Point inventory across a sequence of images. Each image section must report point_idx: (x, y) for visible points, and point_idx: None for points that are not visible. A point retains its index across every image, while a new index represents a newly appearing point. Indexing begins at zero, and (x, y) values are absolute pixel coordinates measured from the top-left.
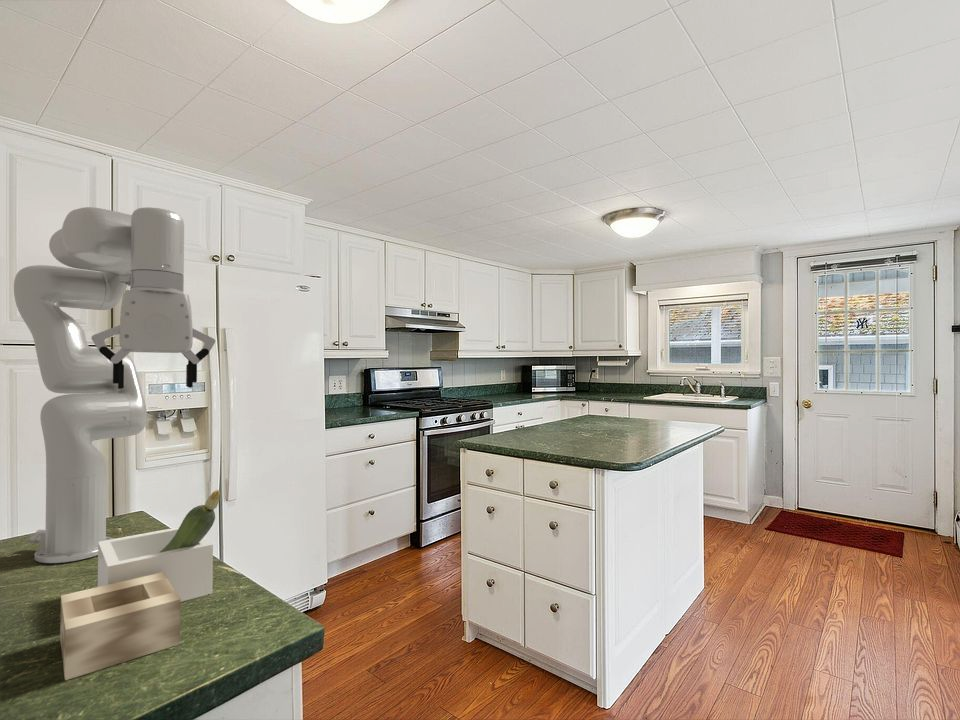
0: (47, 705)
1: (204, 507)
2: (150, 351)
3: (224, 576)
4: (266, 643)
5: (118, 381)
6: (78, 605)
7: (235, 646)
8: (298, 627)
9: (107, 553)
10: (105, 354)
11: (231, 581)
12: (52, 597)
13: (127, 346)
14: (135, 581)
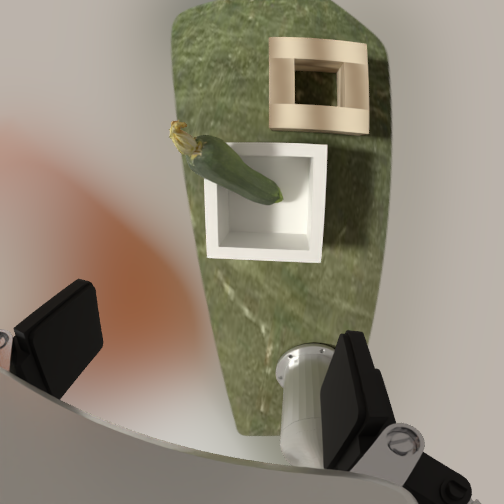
0: (365, 33)
1: (198, 145)
2: (180, 447)
3: (196, 186)
4: (211, 13)
5: (367, 346)
6: (356, 91)
7: (233, 22)
8: (180, 25)
9: (320, 200)
10: (440, 473)
11: None
12: (352, 253)
13: (382, 498)
14: (300, 117)
